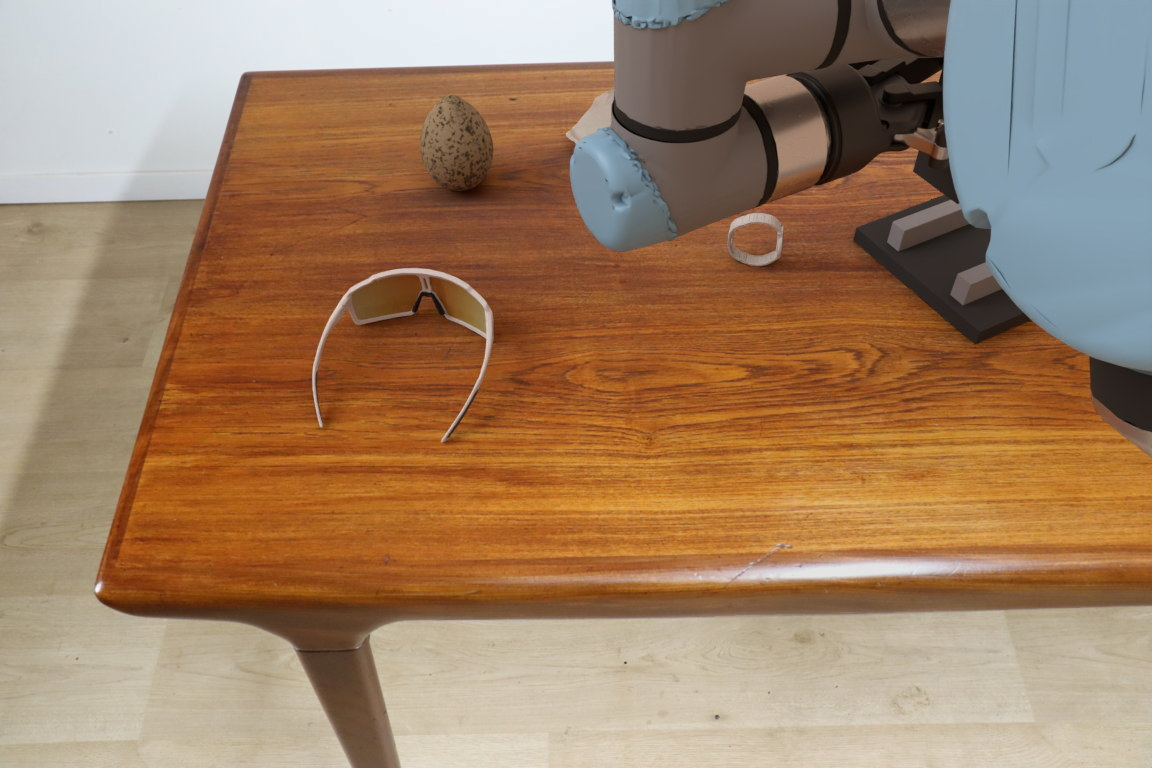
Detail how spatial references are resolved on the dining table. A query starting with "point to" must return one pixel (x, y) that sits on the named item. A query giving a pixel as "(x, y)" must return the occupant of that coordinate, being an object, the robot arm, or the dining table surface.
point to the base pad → (943, 265)
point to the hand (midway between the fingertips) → (1054, 46)
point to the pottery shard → (593, 117)
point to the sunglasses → (401, 298)
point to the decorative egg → (456, 144)
